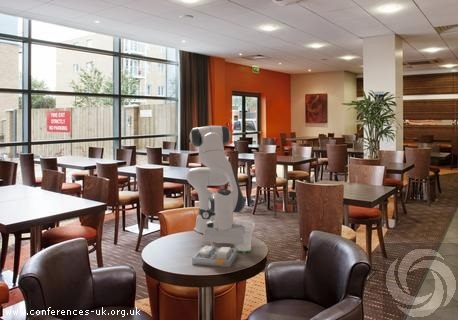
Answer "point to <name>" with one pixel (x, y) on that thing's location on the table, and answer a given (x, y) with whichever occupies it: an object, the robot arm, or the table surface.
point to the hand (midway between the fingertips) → (223, 251)
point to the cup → (246, 236)
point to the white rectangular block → (224, 253)
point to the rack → (212, 257)
